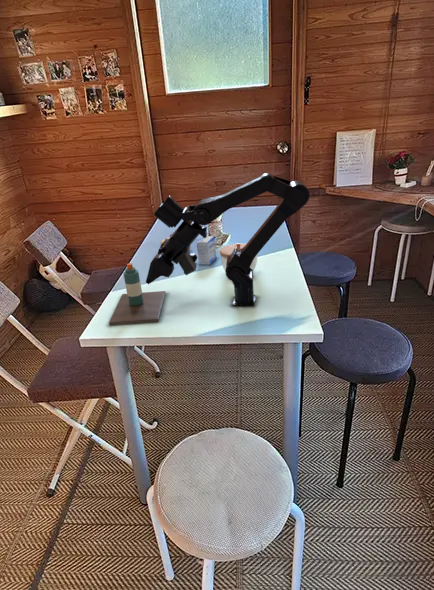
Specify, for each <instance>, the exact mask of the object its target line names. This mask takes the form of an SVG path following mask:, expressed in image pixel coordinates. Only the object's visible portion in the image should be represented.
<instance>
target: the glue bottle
mask: <svg viewBox="0 0 434 590" xmlns="http://www.w3.org/2000/svg"><path fill="white" fill-rule="evenodd" d="M124 270H125V271H124V272H123V279H124V285H125V290H126V294H127V295H128V300H129V304H130V305H132V306H137V305H140V304H142V303H143V302H144V301H143V295H142V293H143V290H142V284H141V279H140V272H139V270H138V269H136V267H134V266H133V263H131V262H128V263H126V268H125V269H124Z"/></svg>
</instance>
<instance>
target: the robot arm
mask: <svg viewBox="0 0 434 590" xmlns="http://www.w3.org/2000/svg"><path fill="white" fill-rule="evenodd" d="M266 192H268V193H270V194H272V195H275V196H276V197H278V198H280V199H279V200H278V203H277V204H276V206H275V208H273V211H272V212H271V213H270V214H269V215H268V217H267V218H266V219H265V220H264V222H263V223H262V224H261V225H260V227H259V228H258V229H257V230H256V231H255V233H254V234H253V235H252V236H251V238H250V239H249V240H248V242H247V243H245V244H246V245H245V246H244V247H243V248H242V249H240V250H238V249H237V248H236V247H235V249H234V251H233V252H232V254H231V255H229V256H228V257H227V263H226V271H225V270H224V271H225V272H224V273H225V276H226V278H228V280H229V281H231V282H232V285H233V293H234V296H233V297H234V298H233V301H232V304H231V305H232V306H233V307H234V306H236V307H237V306H238V307H243V306H246V307H249V306H251V307H253V306H255V304H256V299H257V295H256V294H254V293H255V291H254V270H252V269H251V268H250V266H251V264H252V262H253V259H254V258H255V256H256V255H257V256H258V254H259V253H260V252H261V250H262V249H263V248H264V247H265V245H267V243H268V242H269V241H270V239H271V238H273V236H274V235H275V234H276V232H277V231H278V230H279V229H280V228H281V226H283V224H284V223H285V221H286V220H287V219H288V218H290V217H291V216H293V215H294V214H297V213H298V211H300V210H301V209H302V208H303V207H304V206H306V205H307V203H309V200H310V191H309V189H308V186H307V185H306V184H305V182H303V181H301V180H299V179H298V180H297V179H296V180H292V181H291V180H289V179H286V178H283V177H279V176H276V175H274V174H272V173H270V172H266V173H263V174H262V175H260V176H259V177H257V178H255V179H253V180H251V181H248V182H247V183H244V184H242V185H240V186H238V187H236V188H233V189H232V190H230V191H228V192H226V193H224V194H221V195H216V196H211V197H206V198H203V199H200V200H198V202H197V203H196V204H192V205H187V206H185V207H183V206H182V205H180V204H179V202H177V201H176V200H175V198H174V197H172V195H167V196H168V197H166V199H165V200H164V202H162V203H161V204H160V205H159V207H158V208H157V209H156V210H155V211H154V213H153V216H154V217H155V218H156V219H158V220H159V221H160V222H161V223H163V224H164V225H165V226H166V227H168V228H169V229H170V228H171V229H173V228H174V229H175V228H176V227H177V226H178V225H179V226H178V227H177V228H176V229H175V230H176V231H175V230H174V232H172V233H171V234H172V235H171V234H170V235H171V237H170V236H169V237H170V238H169V237H168V238H169V239H167V238H166V239H165V238H164V239H165V240H164V242H163V243H162V244H160V246H159V248H158V251H157V253H156V254H155V256H153V258H152V260H151V261H150V263H149V268H148V272H147V275H146V279H145V283H146V284H147V285H150V284H152V283H153V282H154V281H156V280H157V279H158V278H160V277H165V278H169V277H170V276H172V274H174V273H173V272H174V270H175V265H178V264H179V266H180V268H181V269H182V271H183V274H184V275H185V276H188V275H190V274H192V273H193V272H195V271H197V267H198V265H197V264H198V263H197V260H198V254H197V253H191V252H189V251H188V250H187V249H188V248H189V246H190V247H191V245H192V244H193V243H194V241H195V240H196V239H197V238H198V237H199V236H201V237H202V238H206V236H208V231H207V230H208V226H207V225H210V224H211V223H212V222H214V221H215V220H217V219H218V218H220V216H222V215H223V214H225V212H227V211H228V210H230V209H232V208H235V207H237V206H239V205H241V204H243V203H245V202H247V201H249V200H251V199H254V198H255V197H258V196H260V195H262V194H264V193H266ZM181 221H182V222H181ZM180 222H181V223H180Z"/></svg>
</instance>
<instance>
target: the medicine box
mask: <svg viewBox="0 0 434 590" xmlns="http://www.w3.org/2000/svg"><path fill="white" fill-rule="evenodd" d="M196 250H197V257H198V258H197V260H198V265H200V266H201V265H202V266H210V265H211V264H212V263H213V262H214V261H215V260H216V259H217V249H216V238H215V235H207V236H206V238H203V237H202V238H201V239H200V240H198V241H197V242H196Z"/></svg>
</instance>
